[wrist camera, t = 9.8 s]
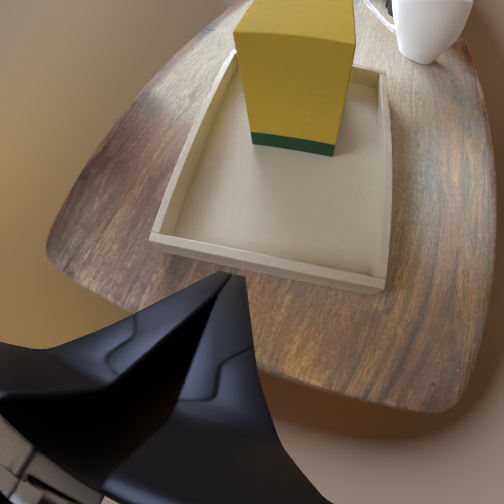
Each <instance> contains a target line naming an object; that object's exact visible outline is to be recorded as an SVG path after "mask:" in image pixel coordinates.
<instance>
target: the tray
mask: <svg viewBox="0 0 504 504" xmlns="http://www.w3.org/2000/svg"><path fill="white" fill-rule="evenodd" d="M391 216H392V138H391V121H390V108H389V98H388V88H387V80H386V73H385V71H382V70H378V69H374V68H370V67H366V66H362V65H358V64H352V70H351V75H350V80H349V85H348V90H347V95H346V99H345V104H344V109H343V113H342V118H341V122H340V127H339V131H338V135H337V140H336V144H335V148H334V152H333V156H332V157H329V156H324V155H319V154H313V153H308V152H302V151H296V150H290V149H284V148H277V147H270V146H263V145H255V144H252V139H251V133H250V127H249V121H248V115H247V109H246V104H245V98H244V92H243V86H242V81H241V75H240V69H239V64H238V58H237V53H236V50H231V51H230V53H229V55H228V56H227V58H226V60H225V62H224V64H223V66H222V68H221V69H220V71H219V73H218V75H217V77H216V79H215V81H214V83H213V85H212V87H211V89H210V91H209V93H208V95H207V97H206V99H205V101H204V103H203V105H202V107H201V109H200V112H199V114H198V116H197V118H196V120H195V122H194V125H193V127H192V129H191V131H190V133H189V136H188V138H187V140H186V143H185V145H184V147H183V150H182V152H181V154H180V157H179V159H178V162H177V164H176V167H175V169H174V172H173V174H172V177H171V179H170V182H169V184H168V187H167V190H166V192H165V195H164V198H163V200H162V203H161V206H160V209H159V211H158V214H157V217H156V220H155V223H154V226H153V229H152V232H151V235H150V238H149V241H150V242H151V243H152V244H154V245H155V246H156V247H158V248H159V249H160V250H161V251H163V252H165V253H170V254H174V255H179V256H183V257H188V258H192V259H197V260H201V261H206V262H210V263H215V264H219V265H224V266H229V267H233V268H238V269H243V270H247V271H252V272H257V273H262V274H266V275H271V276H276V277H281V278H286V279H291V280H295V281H300V282H305V283H310V284H315V285H320V286H325V287H330V288H335V289H341V290H346V291H351V292H356V293H361V294H367V295H374V294H376V293H378V292H380V291H382V290H384V289H385V283H386V280H385V279H386V276H387V267H388V258H389V246H390V233H391Z"/></svg>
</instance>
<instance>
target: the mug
mask: <svg viewBox="0 0 504 504" xmlns="http://www.w3.org/2000/svg"><path fill="white" fill-rule="evenodd" d="M364 2H365V3H366V5H367V6H368V7H369V9H370V10H371V11H372V12H373V13H374V14H375V15H376V16H377V17H378V18H379V20H380V21H381V22H382V23H383V24H384V25H385V26H386V27H387V28H388V29H389V30H390V31H392V32H393V33H395V34H396V35H397V40H398V46H399V50H400V52H401V53H402V54H403V55H404V56H405V57H407V58H408V59H410V60H412V61H414V62H416V63H419V64H424V65H427V64H430V63H431V62H432V61H434V60H435V59H436V58H437V57H438V56H440V55H441V54H442V53H443V52H444V51H445V50H447V49H448V48H449V47H450V46H451V45H452V44H453V43H454V42H455V41H456V40H457V39H458V38H459V36H460V35H461V33H462V31H463V29H464V26H465V24H466V21H467V19H468V16H469V13H470V11H471V8H472V4H473V1H472V0H392V10H393V17H394V23H395V25H391V24H389V23H388V22H387V21H386V20H385V18H384V17H383V16H382V15H381V14H380V13H379V12H378V11H377V9H376V8H375V7H374V6H373V5H372V3H371V2H370V1H369V0H364Z"/></svg>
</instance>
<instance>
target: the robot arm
mask: <svg viewBox="0 0 504 504" xmlns="http://www.w3.org/2000/svg"><path fill="white" fill-rule="evenodd" d="M104 496H106V497H108V498H110V499H112V500H113V501H115V502H117V503H119V504H333V503H331V502H330V501H328V500H327V499H325V498H324V497H323V496H322V495H321V494H320V493H319V492H318V490H317V489H316V488H315V487H314V486H313V485H312V483H311V482H310V481H309V480H308V479H307V477H306V476H305V475H304V474H303V473H302V471H301V470H300V469H299V467H298V466H297V465H296V464H295V462H294V461H293V460H292V459H291V457H290V456H289V455H288V454H287V452H286V451H285V449H284V448H283V446H282V444H281V442H280V440H279V437H278V435H277V432H276V429H275V427H274V424H273V421H272V418H271V415H270V412H269V409H268V406H267V402H266V400H265V396H264V394H263V390H262V387H261V383H260V379H259V375H258V370H257V364H256V358H255V350H254V343H253V335H252V327H251V318H250V310H249V302H248V293H247V285H246V278H245V276H241V275H236V274H231V273H227V272H223V271H218V272H216V273H214V274H212V275H210V276H208V277H206V278H204V279H202V280H200V281H198V282H196V283H194V284H192V285H190V286H188V287H186V288H184V289H182V290H180V291H178V292H176V293H174V294H172V295H170V296H168V297H166V298H164V299H162V300H160V301H158V302H156V303H154V304H152V305H150V306H149V307H147V308H145V309H143V310H141V311H139V312H137V313H135V315H134V314H133V315H131V316H129V317H127V318H125V319H123V320H120V321H118V322H116V323H114V324H112V325H110V326H108V327H105V328H103V329H100V330H98V331H96V332H93V333H91V334H88V335H86V336H83V337H80V338H78V339H75V340H72V341H70V342H67V343H65V344H62V345H59V346H57V347H53V348H49V349H31V348H26V347H21V346H16V345H11V344H7V343H3V342H0V504H101V502H102V500H103V498H104Z"/></svg>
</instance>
